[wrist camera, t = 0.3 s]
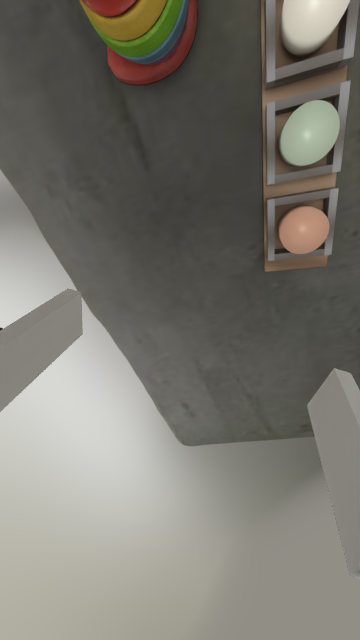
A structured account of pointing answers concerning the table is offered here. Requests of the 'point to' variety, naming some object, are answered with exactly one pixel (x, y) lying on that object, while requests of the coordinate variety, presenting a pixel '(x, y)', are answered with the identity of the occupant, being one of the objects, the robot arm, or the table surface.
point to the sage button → (309, 133)
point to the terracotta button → (303, 229)
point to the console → (277, 106)
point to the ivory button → (309, 23)
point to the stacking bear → (144, 35)
